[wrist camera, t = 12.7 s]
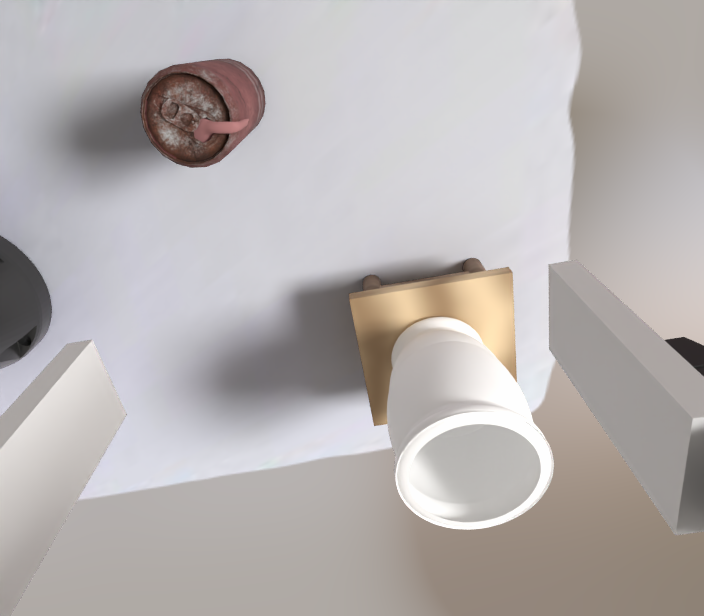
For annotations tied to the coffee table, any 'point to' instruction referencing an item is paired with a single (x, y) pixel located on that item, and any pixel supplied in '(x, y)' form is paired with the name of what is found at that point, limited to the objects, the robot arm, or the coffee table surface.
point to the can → (201, 110)
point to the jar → (461, 430)
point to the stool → (426, 302)
